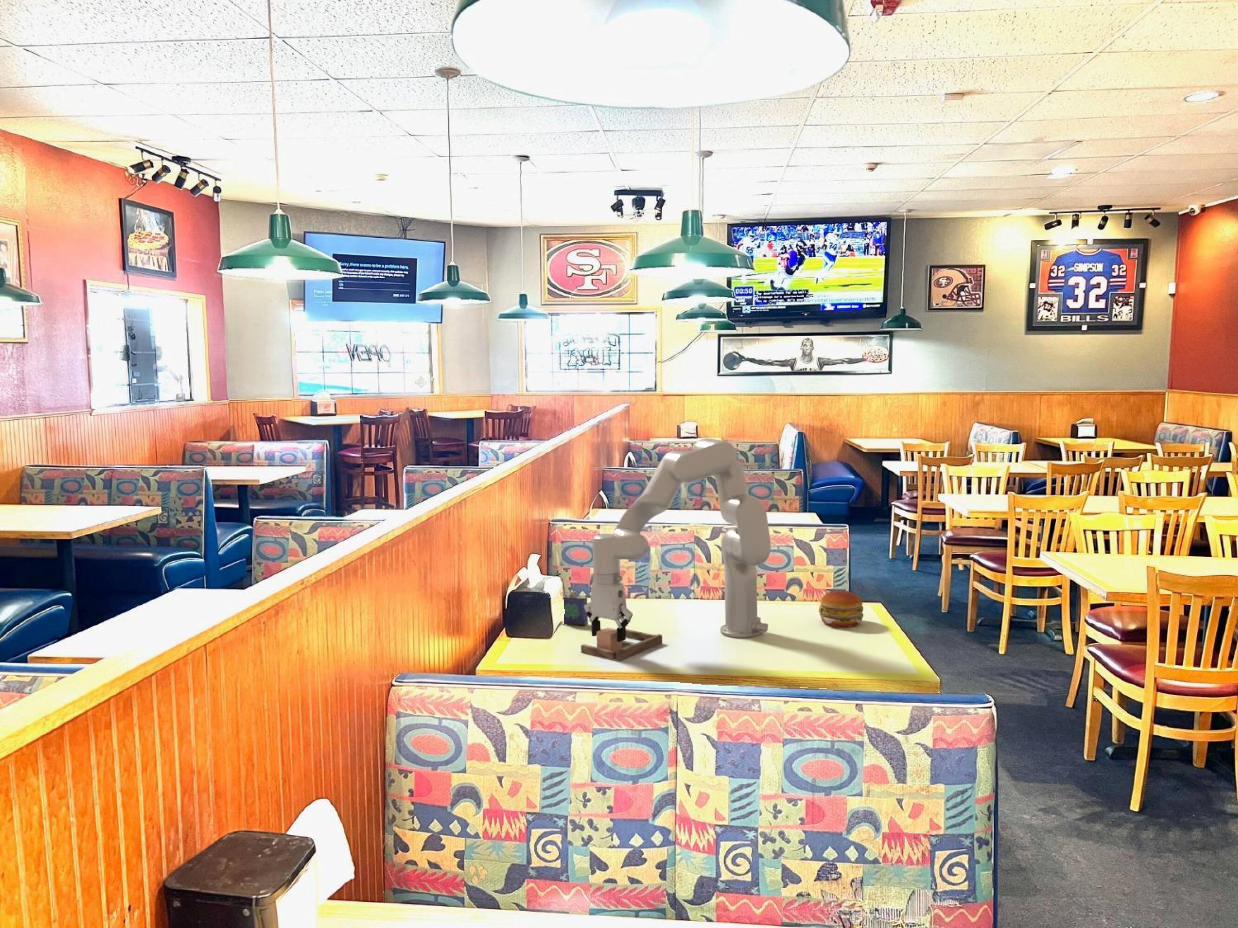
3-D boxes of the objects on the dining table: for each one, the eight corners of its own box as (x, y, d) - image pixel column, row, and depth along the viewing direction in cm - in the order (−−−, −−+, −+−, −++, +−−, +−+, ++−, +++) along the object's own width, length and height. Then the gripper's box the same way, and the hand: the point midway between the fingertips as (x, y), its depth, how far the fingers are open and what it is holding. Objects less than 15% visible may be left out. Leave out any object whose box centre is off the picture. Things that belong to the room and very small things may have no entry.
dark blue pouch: (589, 624, 279) (588, 590, 278) (585, 626, 276) (584, 593, 275) (562, 621, 282) (561, 589, 281) (558, 624, 280) (557, 591, 279)
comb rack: (662, 643, 257) (662, 633, 257) (619, 661, 242) (618, 650, 242) (625, 635, 266) (624, 625, 265) (581, 652, 251) (580, 642, 251)
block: (621, 650, 251) (621, 630, 251) (610, 655, 247) (609, 634, 247) (608, 647, 254) (608, 627, 254) (597, 652, 251) (596, 631, 250)
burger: (846, 632, 262) (846, 599, 261) (809, 623, 272) (809, 591, 271) (872, 623, 271) (872, 591, 270) (835, 614, 281) (835, 584, 280)
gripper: (639, 579, 246) (640, 639, 248) (592, 571, 257) (594, 629, 259) (622, 584, 240) (623, 646, 242) (575, 576, 251) (577, 636, 253)
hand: (608, 637), depth 251 cm, fingers open, 9 cm apart
